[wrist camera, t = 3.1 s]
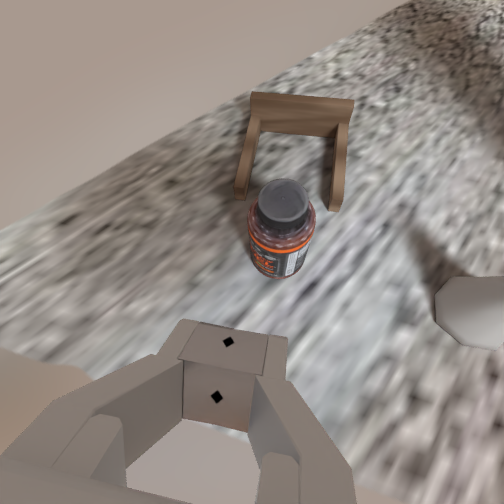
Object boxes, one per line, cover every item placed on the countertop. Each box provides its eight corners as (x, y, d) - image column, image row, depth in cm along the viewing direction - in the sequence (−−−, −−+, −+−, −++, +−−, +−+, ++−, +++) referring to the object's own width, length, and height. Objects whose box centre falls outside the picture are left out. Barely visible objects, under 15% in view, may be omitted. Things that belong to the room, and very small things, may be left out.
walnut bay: (338, 212, 35) (348, 186, 31) (235, 199, 37) (230, 172, 32) (344, 132, 40) (354, 99, 36) (253, 123, 42) (251, 91, 37)
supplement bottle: (240, 257, 34) (227, 200, 23) (275, 222, 35) (278, 154, 25) (280, 292, 32) (287, 247, 21) (316, 253, 33) (337, 194, 23)
